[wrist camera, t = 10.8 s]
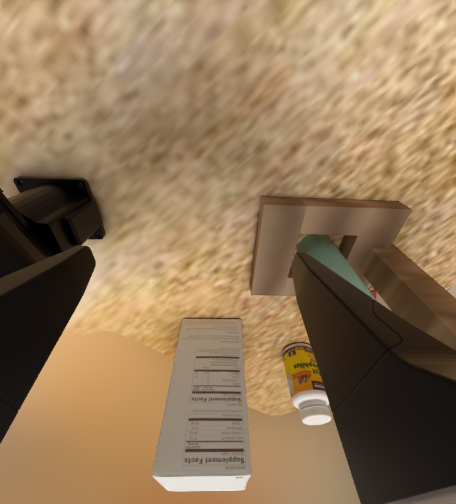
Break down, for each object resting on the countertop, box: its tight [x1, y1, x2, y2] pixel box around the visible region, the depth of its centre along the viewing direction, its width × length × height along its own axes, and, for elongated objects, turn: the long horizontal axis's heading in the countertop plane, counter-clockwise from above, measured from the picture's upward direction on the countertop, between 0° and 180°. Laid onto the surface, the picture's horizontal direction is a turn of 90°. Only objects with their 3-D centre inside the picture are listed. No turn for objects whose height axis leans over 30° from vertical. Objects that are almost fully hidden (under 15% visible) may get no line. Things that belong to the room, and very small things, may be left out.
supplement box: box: [152, 319, 252, 491], centre depth 28 cm, size 10×9×17 cm
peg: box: [297, 234, 376, 300], centre depth 19 cm, size 4×4×15 cm
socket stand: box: [250, 197, 456, 350], centre depth 15 cm, size 15×12×23 cm
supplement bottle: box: [282, 343, 331, 425], centre depth 34 cm, size 6×6×10 cm
